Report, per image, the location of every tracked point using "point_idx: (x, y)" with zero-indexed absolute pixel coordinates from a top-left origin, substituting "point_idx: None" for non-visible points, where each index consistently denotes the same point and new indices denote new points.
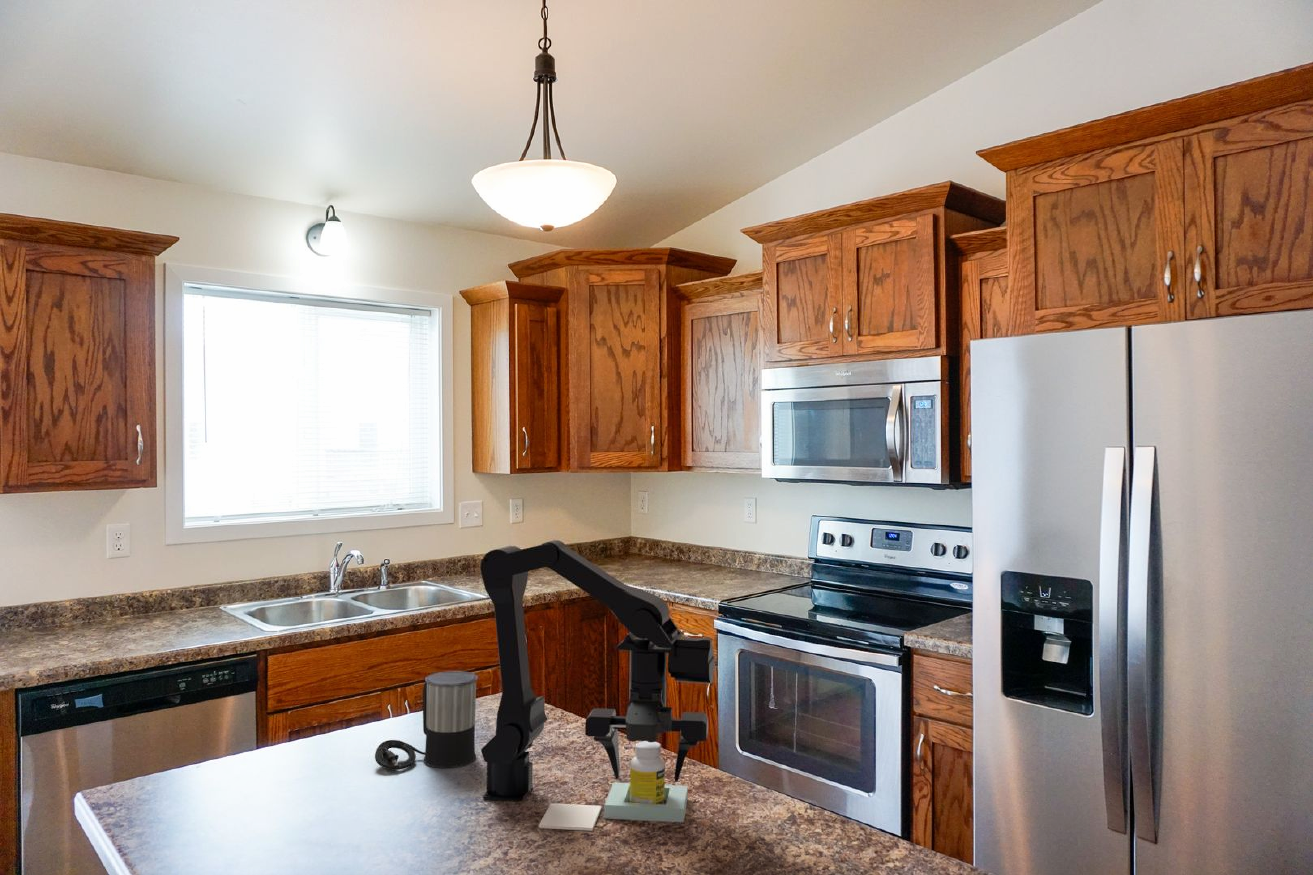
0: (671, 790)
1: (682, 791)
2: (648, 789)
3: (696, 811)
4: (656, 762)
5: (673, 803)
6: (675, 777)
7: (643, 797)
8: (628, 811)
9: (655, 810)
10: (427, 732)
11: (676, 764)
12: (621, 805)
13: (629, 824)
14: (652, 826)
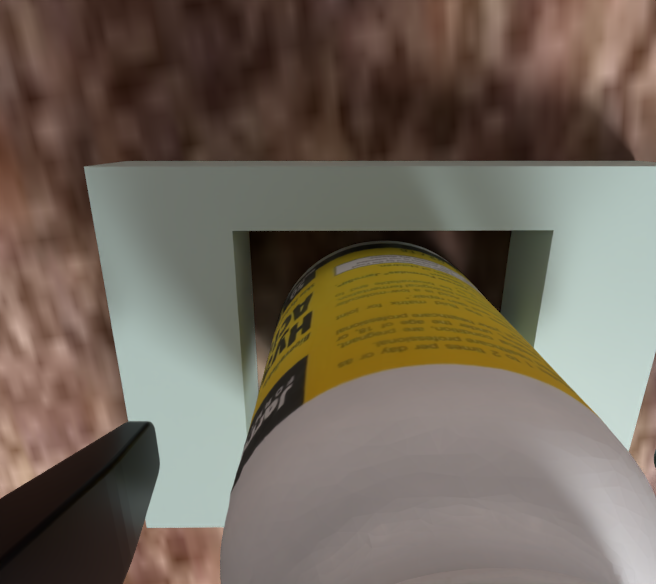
0: (234, 457)
1: (161, 450)
2: (379, 288)
3: (87, 326)
4: (311, 537)
5: (181, 256)
6: (127, 438)
7: (411, 265)
8: (500, 164)
9: (306, 165)
10: None
11: (19, 535)
12: (571, 170)
13: (472, 83)
14: (317, 69)
